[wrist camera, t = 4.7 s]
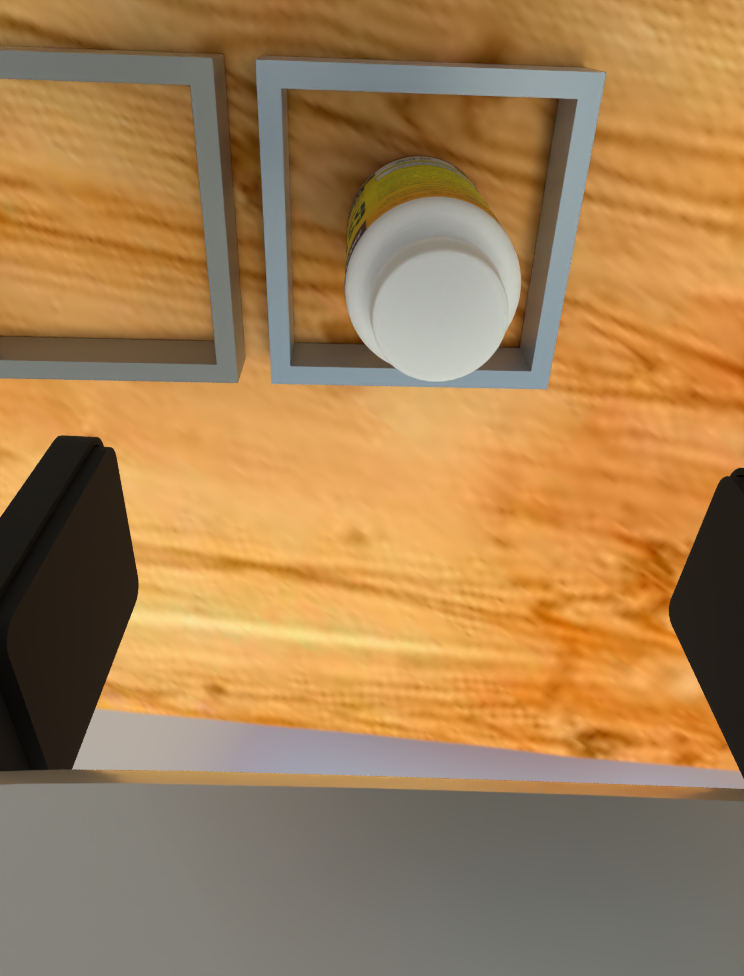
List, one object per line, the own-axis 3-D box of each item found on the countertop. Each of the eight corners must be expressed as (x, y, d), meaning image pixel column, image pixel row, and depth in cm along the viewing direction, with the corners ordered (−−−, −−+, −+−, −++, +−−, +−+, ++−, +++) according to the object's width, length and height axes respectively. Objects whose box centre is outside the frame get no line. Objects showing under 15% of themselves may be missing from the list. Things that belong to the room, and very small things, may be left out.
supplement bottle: (341, 157, 27) (336, 223, 19) (486, 148, 27) (547, 212, 19) (350, 299, 30) (349, 411, 22) (481, 292, 30) (531, 402, 22)
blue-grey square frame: (263, 55, 25) (255, 59, 23) (585, 67, 26) (606, 72, 24) (276, 359, 32) (271, 383, 30) (534, 364, 32) (547, 389, 30)
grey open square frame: (-111, 41, 25) (-154, 44, 23) (224, 53, 25) (212, 58, 23) (-21, 353, 31) (-47, 377, 29) (245, 358, 32) (237, 382, 30)
